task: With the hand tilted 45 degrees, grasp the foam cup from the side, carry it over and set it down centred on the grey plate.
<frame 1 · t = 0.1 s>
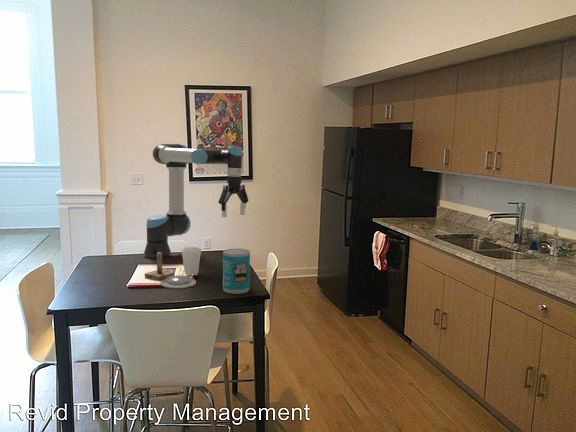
hand: (233, 216, 253), 28 cm above the table, tool pointing down, fingers open, 13 cm apart
food can: (236, 290, 217), on the table
grey plate: (178, 283, 223), on the table
foam cup: (191, 274, 241), on the table
stand: (159, 276, 234), on the table
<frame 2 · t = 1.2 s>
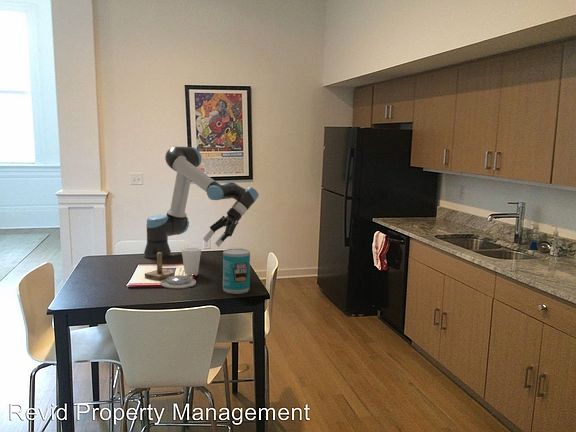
hand: (210, 242, 245), 15 cm above the table, tool tilted 45°, fingers open, 13 cm apart
nothing on the table moved.
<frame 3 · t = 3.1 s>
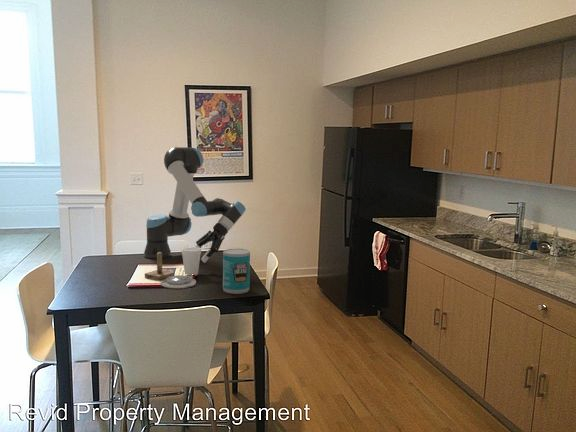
hand: (196, 258, 240), 8 cm above the table, tool tilted 45°, fingers open, 13 cm apart
nothing on the table moved.
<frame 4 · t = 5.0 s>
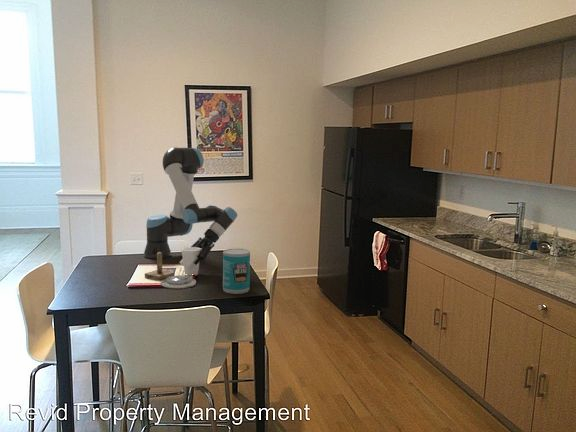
hand: (185, 266, 238), 4 cm above the table, tool tilted 45°, fingers closed on foam cup, 9 cm apart
foam cup: (191, 274, 241), on the table, touching gripper
everything else where it was.
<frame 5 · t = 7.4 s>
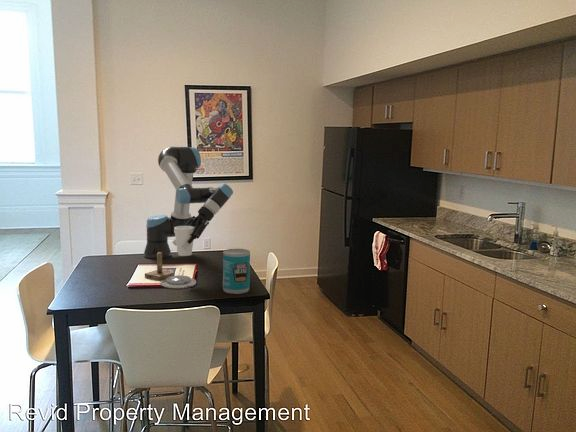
hand: (178, 246, 223), 17 cm above the table, tool tilted 45°, fingers closed on foam cup, 9 cm apart
foam cup: (184, 254, 226), point 13 cm above the table, touching gripper
everything else where it was.
when the fingers open (8 cm above the table, at t = 9.8 s): foam cup drops 1 cm, resting on grey plate.
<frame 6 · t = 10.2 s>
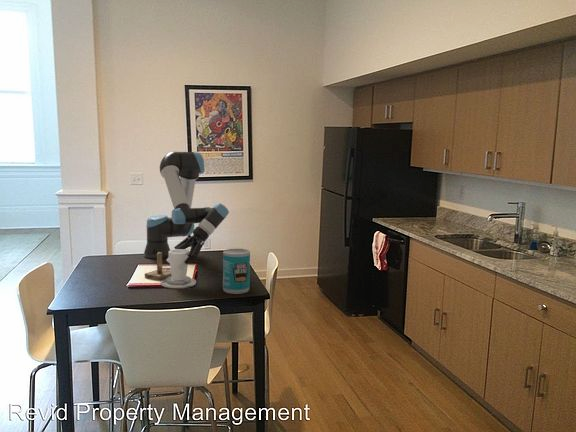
hand: (173, 265, 221), 9 cm above the table, tool tilted 45°, fingers open, 13 cm apart
foam cup: (178, 278, 223), point 2 cm above the table, touching grey plate
everything else where it was.
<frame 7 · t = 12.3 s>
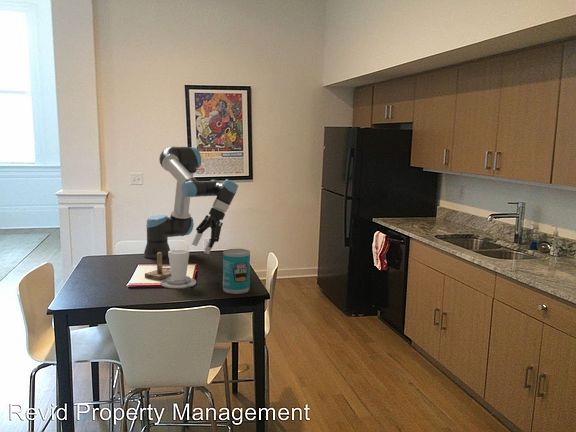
hand: (199, 249, 233), 14 cm above the table, tool tilted 25°, fingers open, 13 cm apart
nothing on the table moved.
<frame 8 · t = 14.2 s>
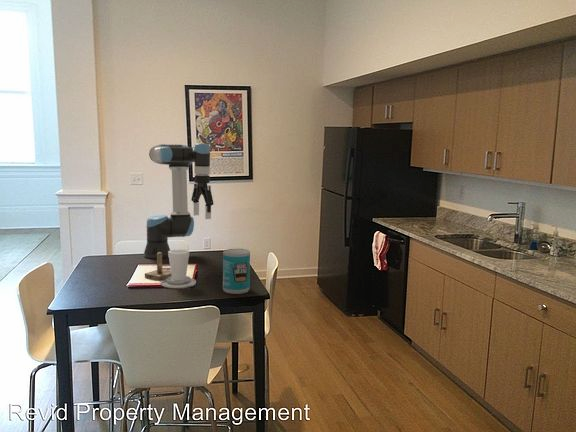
hand: (202, 217, 240), 29 cm above the table, tool pointing down, fingers open, 13 cm apart
nothing on the table moved.
at the end: foam cup 0.1 cm from the grey plate (horizontally); foam cup point 2.3 cm above the table; foam cup tilted 0° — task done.
